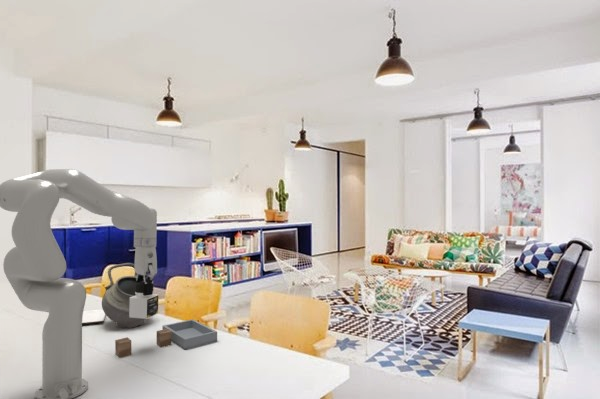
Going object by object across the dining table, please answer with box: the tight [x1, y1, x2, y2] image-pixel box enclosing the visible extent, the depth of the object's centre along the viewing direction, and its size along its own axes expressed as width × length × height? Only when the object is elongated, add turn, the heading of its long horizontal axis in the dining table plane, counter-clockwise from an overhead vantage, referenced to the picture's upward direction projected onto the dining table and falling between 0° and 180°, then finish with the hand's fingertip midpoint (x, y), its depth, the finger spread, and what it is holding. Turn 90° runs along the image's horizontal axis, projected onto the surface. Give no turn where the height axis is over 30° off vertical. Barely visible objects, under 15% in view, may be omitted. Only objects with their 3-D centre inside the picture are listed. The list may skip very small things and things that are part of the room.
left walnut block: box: [114, 337, 132, 358], centre depth 139 cm, size 4×4×5 cm
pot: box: [101, 262, 146, 329], centre depth 172 cm, size 21×21×25 cm
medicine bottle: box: [129, 281, 159, 320], centre depth 143 cm, size 7×7×12 cm
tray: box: [161, 318, 218, 351], centre depth 155 cm, size 20×13×4 cm, turn 41°
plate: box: [82, 308, 106, 326], centre depth 176 cm, size 19×19×2 cm
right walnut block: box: [156, 329, 172, 348], centre depth 148 cm, size 4×4×5 cm
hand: (144, 292), depth 143 cm, fingers closed on medicine bottle, 6 cm apart
